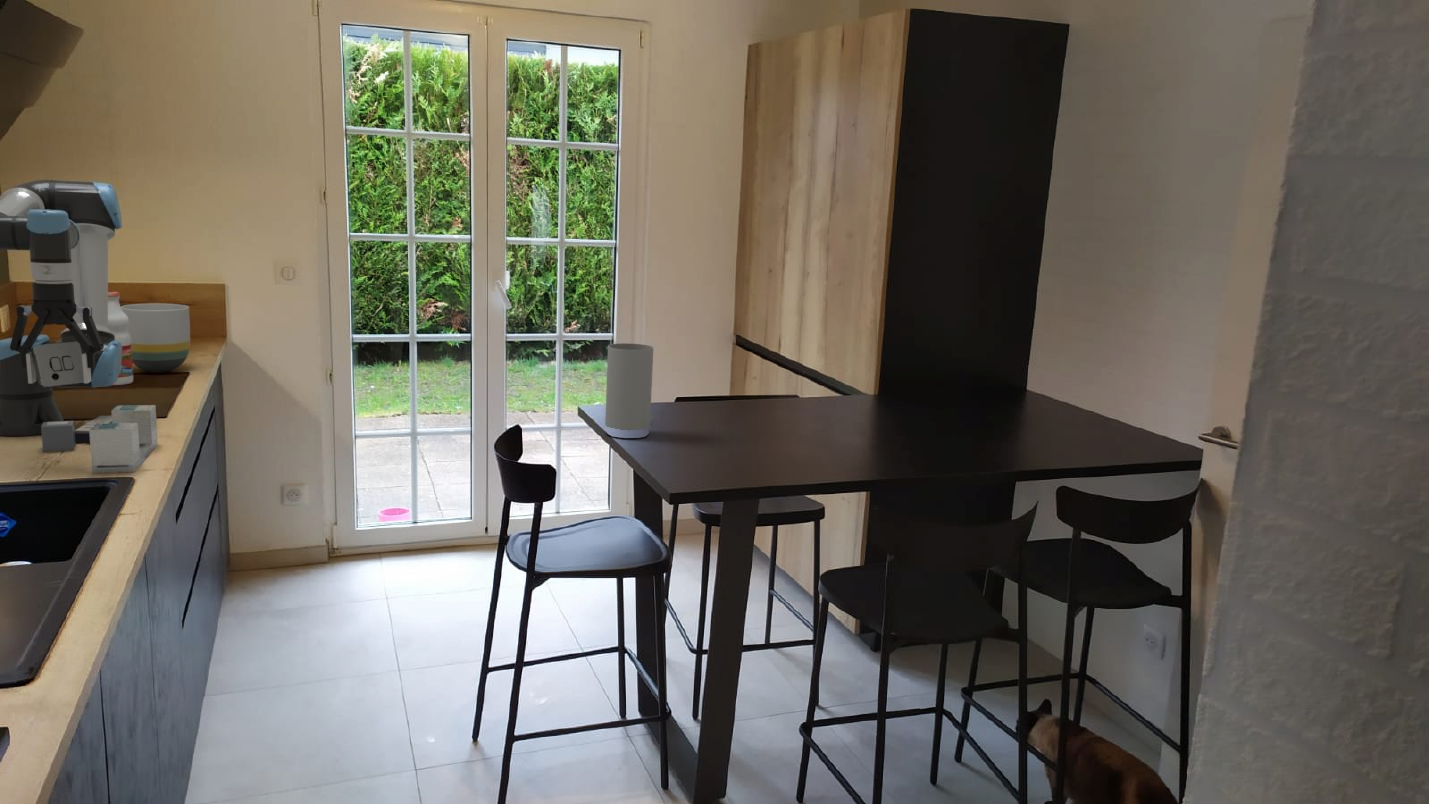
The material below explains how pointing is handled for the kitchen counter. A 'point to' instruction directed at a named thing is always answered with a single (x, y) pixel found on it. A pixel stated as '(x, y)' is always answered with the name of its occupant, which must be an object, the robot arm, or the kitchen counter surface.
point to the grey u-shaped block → (123, 439)
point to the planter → (158, 335)
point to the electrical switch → (58, 364)
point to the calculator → (83, 431)
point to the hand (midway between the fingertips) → (60, 382)
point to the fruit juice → (120, 337)
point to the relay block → (58, 436)
